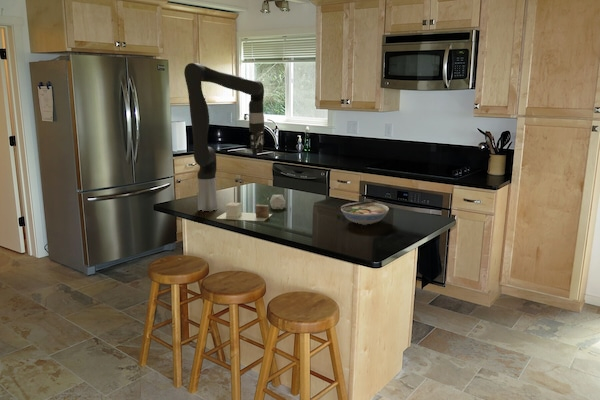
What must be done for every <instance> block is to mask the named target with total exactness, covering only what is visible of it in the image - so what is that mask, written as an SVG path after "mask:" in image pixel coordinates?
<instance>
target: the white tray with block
mask: <svg viewBox="0 0 600 400" xmlns="http://www.w3.org/2000/svg"><path fill="white" fill-rule="evenodd" d="M272 215H273V213H270V206H269V204H256V205H255V212H242V215H240V216H239V217H238V218H236V217H226V211H225V212H223V213H221V214H220V215H219V216H217V217H216V220H217V219H221V220H236V221H253V222H265V221H267V219H269V218H270V217H271V216H272Z"/></svg>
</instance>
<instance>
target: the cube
mask: <svg viewBox="0 0 600 400" xmlns="http://www.w3.org/2000/svg"><path fill="white" fill-rule="evenodd" d="M242 207H243V205H242V202H234V201H233V202H231V201H230V202H229V203H227V204H225V212H226V217H236V218H238V217H239V216H240V215H242V213H243V212H242V211H243V209H242Z"/></svg>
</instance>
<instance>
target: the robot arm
mask: <svg viewBox="0 0 600 400" xmlns="http://www.w3.org/2000/svg"><path fill="white" fill-rule="evenodd" d="M183 71H184V79H185V84H186V88H187V94H188V95H187V96H188V104H189V113H190V115H189V116H190V121H191V131H192V139H193V158H194V159H193V160H194V161H195V163H196V165H197V166H199V169H198V172H197V188H198V189H197V190H198V192H196V197H197V198H196V199H197V210H198V211H200V210H202V211H201V212H204V211H209V212H214V211H213V210H215V211H217V210H218V198H217V183H216V182H217V181H216V180H217V179H216V175H217V153H216V150H215V149H214V148H213V147H211V146H209V144H208V134H209V127H210V112H209V106H208V104H207V101H206V98H205V95H204V93H203V89H202V88H203V86H202V82H204V83H205V82H206V83H213V84H215V85H218V86H221V87H224V88H226V89H228V90H233V91H237V92H241V93H243V94H247V95H250V101H249V103H248V129H249V133H250V132H251V133H252V134H250V135H249V145H250V148H251V149H252V151H251V152H252V156H258V153H259V154H262V153H263V151H264V150H263V146H264V144H265V133H264V132H265V115H264V98H265V97H264V96H265V87H264V84H263V83H262V81H259V80H250V79H247V78H244V77H242V76H239V75H235V74H231V73H227V72H222V71H219V70H216V69H212V68H210V67H207V66H205V65H203V64H201V63H199V62H189V63H188V64H186V66H185V68H184V70H183Z"/></svg>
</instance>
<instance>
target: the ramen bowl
mask: <svg viewBox="0 0 600 400" xmlns="http://www.w3.org/2000/svg"><path fill="white" fill-rule="evenodd" d="M377 202H378V200H376V199H370V200H366V201H361V202H352V203H351V202H349V203H346V204H343V205H341V206H340V207H335V208H334V209H335V210H338V209H340V211H341V212H342V215H343V216H344V217H345V218H346V219H348V220H349V221H350V222H353V223H355V224H357V223H358V224H357V225H359V224H362V225H361V226H368V225H367V224H370V225H372V224H375V223H378V222H380V221H381V220H382V219H384V217H386V215H387V214H388V213H389V210H390V208H389V207H388V206H386V205H385V204H382V203H377Z"/></svg>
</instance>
